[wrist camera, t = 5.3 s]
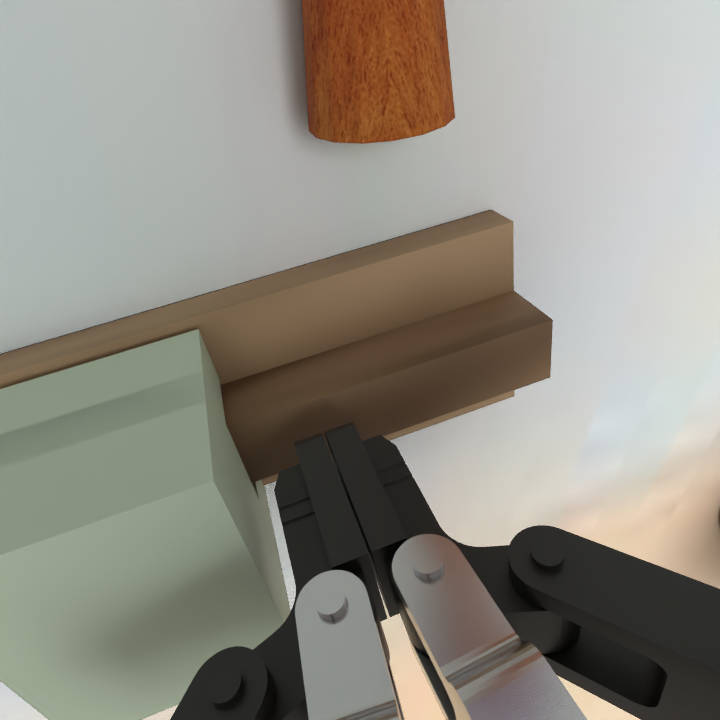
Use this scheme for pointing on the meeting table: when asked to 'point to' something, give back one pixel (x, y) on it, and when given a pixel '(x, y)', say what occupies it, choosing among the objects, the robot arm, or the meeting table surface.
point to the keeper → (127, 534)
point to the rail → (346, 341)
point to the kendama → (376, 69)
